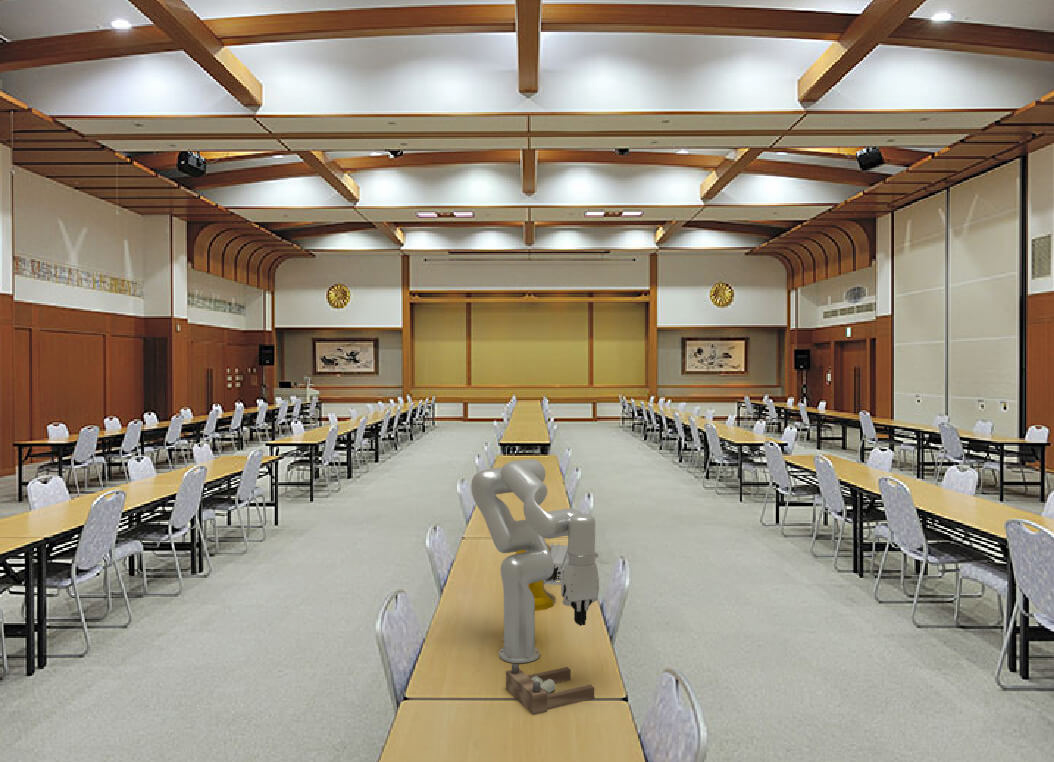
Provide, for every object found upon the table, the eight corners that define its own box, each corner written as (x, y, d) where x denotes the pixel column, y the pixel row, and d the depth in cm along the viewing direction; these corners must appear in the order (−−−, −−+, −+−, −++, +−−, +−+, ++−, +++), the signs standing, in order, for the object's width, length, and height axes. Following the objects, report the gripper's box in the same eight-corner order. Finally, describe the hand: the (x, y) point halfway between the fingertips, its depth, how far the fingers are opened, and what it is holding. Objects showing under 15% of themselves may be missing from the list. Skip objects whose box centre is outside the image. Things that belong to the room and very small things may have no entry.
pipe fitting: (552, 689, 207) (529, 689, 205) (553, 675, 207) (530, 675, 205) (559, 701, 199) (535, 702, 197) (560, 687, 199) (536, 687, 197)
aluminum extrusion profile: (574, 565, 333) (574, 543, 333) (568, 586, 303) (568, 561, 302) (542, 564, 335) (542, 542, 335) (533, 584, 305) (533, 560, 304)
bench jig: (505, 688, 205) (505, 663, 205) (565, 676, 214) (565, 652, 214) (533, 714, 190) (533, 687, 190) (596, 699, 199) (596, 674, 198)
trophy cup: (496, 609, 273) (496, 534, 272) (525, 591, 294) (525, 521, 294) (538, 616, 265) (538, 539, 264) (566, 597, 287) (566, 525, 286)
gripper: (597, 552, 212) (596, 615, 213) (551, 558, 206) (550, 623, 206) (611, 559, 206) (610, 624, 206) (564, 565, 199) (563, 632, 200)
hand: (580, 623), depth 206 cm, fingers closed
